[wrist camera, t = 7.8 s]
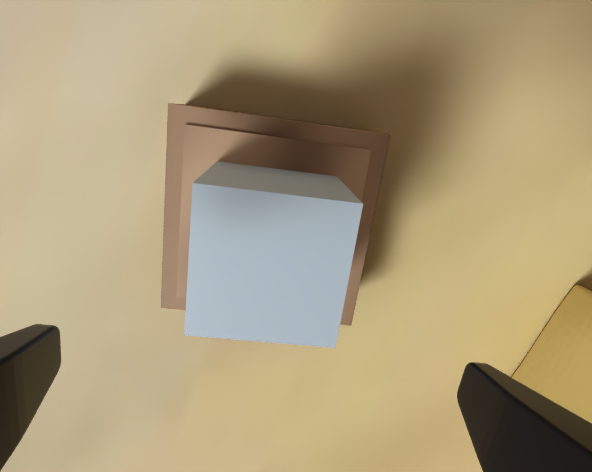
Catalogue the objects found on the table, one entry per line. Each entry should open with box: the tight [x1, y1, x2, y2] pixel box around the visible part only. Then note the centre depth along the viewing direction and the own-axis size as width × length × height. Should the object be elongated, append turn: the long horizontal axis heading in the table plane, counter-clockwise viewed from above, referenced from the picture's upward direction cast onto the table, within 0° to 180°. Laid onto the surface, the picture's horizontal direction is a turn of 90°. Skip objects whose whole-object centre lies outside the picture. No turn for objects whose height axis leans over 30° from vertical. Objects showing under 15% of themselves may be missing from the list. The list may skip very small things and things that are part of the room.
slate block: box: [184, 161, 363, 348], centre depth 14 cm, size 5×5×5 cm
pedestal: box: [161, 103, 390, 325], centre depth 18 cm, size 9×9×3 cm
